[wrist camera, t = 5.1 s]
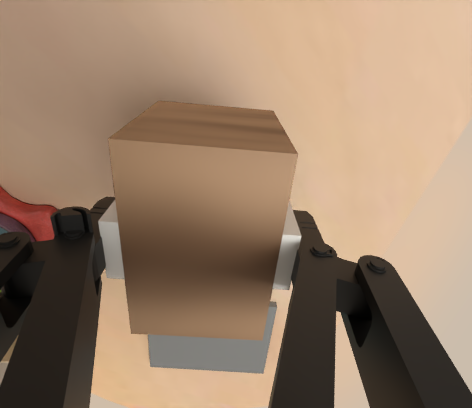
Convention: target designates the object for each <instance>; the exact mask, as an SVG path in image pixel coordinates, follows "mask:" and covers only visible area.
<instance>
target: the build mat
mask: <svg viewBox="0 0 472 408" xmlns="http://www.w3.org/2000/svg"><path fill="white" fill-rule="evenodd" d="M276 309H277V305H276V302H270V304H269V309H268V314H267V320H266V325H265V330H264V335H263V341H261V340H242V339H224V338H205V337H187V336H168V335H150V334H148V340H149V354H150V367H162V368H178V369H195V370H212V371H229V372H246V373H262V374H263V373H264V368H265V363H266V358H267V353H268V348H269V343H270V338H271V333H272V328H273V324H274V319H275V314H276Z"/></svg>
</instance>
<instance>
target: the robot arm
mask: <svg viewBox="0 0 472 408" xmlns="http://www.w3.org/2000/svg"><path fill="white" fill-rule="evenodd" d="M50 219H51V223H52V228H53V232H54V239H52V240H45V241H37V242H31V239H30V236H29V234H27V233H25V232H19V231H18V232H7V233H3V234H1V235H0V290H1V292H0V362H1V360H2V359H3V357H4V356H5V354H6V353H7V351H8V350H9V348H10V347H11V345H12V344H13V342H14V341H15V339H16V338H17V336H18V338H17V341H16V344H15V346H14V349H13V352H12V355H11V357H10V360H9V363H8V366H7V368H6V371H5V374H4V377H3V379H2V382H1V385H0V408H89V404H90V394H91V386H92V376H93V366H94V357H95V347H96V337H97V328H98V318H99V308H100V299H101V289H102V281H101V274H102V272H103V270H104V269H106V276H107V278H114V279H125V278H124V269H123V261H122V252H121V244H120V235H119V227H118V219H117V210H116V202H115V197H105V198H103V199H101V200H99V201H98V202H97V203H96V204H95V205H94V206H93V208H91V210H90V211H89V210H88V209H87V208H83V207H67V208H63V209H60V210H58V211H56V212H54V213H53V214H52V215H51V216H50ZM291 280H292V284H293V291H292V295H291V299H290V303H289V308H288V314H287V319H286V324H285V329H284V333H283V338H282V343H281V348H280V353H279V358H278V363H277V367H276V372H275V377H274V382H273V387H272V392H271V397H270V401H269V406H268V408H334V382H335V381H334V380H335V379H334V378H335V333H336V311H339V312H341V315H342V318H343V322H344V325H345V328H346V331H347V335H348V338H349V341H350V344H351V347H352V351H353V354H354V357H355V360H356V364H357V367H358V370H359V373H360V377H361V380H362V383H363V386H364V389H365V393H366V396H367V399H368V402H369V406H370V408H472V394H471V392H470V390H469V389H468V387H467V385H466V384H465V382H464V380H463V379H462V377H461V375H460V374H459V372H458V371H457V369H456V367H455V366H454V364H453V362H452V361H451V359H450V358H449V356H448V354H447V353H446V351H445V350H444V348H443V346H442V345H441V343H440V341H439V340H438V338H437V336H436V335H435V333H434V332H433V330H432V328H431V327H430V325H429V323H428V322H427V320H426V319H425V317H424V315H423V314H422V312H421V310H420V309H419V307H418V306H417V304H416V302H415V301H414V299H413V297H412V296H411V294H410V293H409V291H408V289H407V288H406V286H405V284H404V283H403V281H402V279H401V278H400V276H399V275H398V273H397V271H396V270H395V268H394V267H393V266H392V265H391V264H390V263H389V262H387V261H386V260H384V259H382V258H380V257H377V256H372V255H365V256H362V257H360V259H359V260H358V263H354V262H351V261H347V260H344V259H341V258H339V257H337V254H336V251H335V250H334V249H333V248H332V247H330V246H329V245H327V244H325V243H324V241H323V239H322V237H321V234H320V232H319V230H318V228H317V225H316V224H315V221H314V219H313V217H312V216H311V215H310V214H309V213H308V212H307V211H298V210H292V207H291V204H290V201H289V204H288V210H287V215H286V220H285V225H284V231H283V236H282V241H281V246H280V252H279V257H278V262H277V267H276V273H275V278H274V283H273V288H272V289H283V290H289V288H290V284H291Z"/></svg>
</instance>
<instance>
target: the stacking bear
mask: <svg viewBox="0 0 472 408" xmlns="http://www.w3.org/2000/svg"><path fill="white" fill-rule="evenodd" d="M56 211H58V210H57V209H56V208H54V207H52V206H48V205H30V204H26V203H23V202H20V201H18V200H16V199H14V198H13V197H11V196H10V195H9V194H8V193H6V192H5V191H4V190H3V189H2V188H1V187H0V235H1V234H3V233H7V232H18V231H19V232H25V233H27V234H29V236H30V239H31V242H37V241H45V240H52V239H54V232H53V228H52V223H51V219H50V216H51V215H52V214H53V213H54V212H56ZM0 292H1V290H0Z"/></svg>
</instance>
